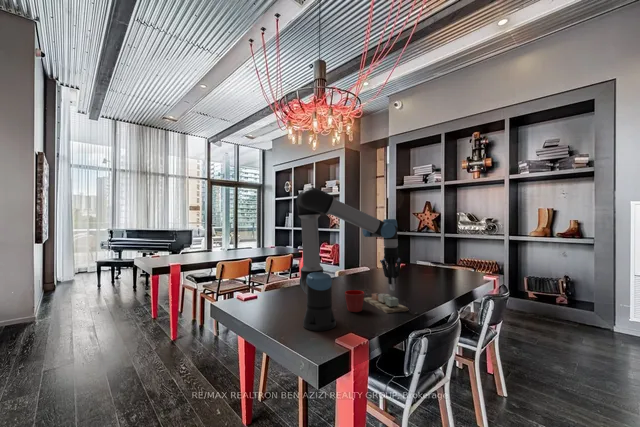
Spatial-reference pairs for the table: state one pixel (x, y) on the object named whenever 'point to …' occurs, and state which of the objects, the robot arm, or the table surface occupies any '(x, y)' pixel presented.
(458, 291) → the table surface
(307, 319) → the robot arm
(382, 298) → the tile
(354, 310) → the flower pot
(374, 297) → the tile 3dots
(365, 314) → the table surface
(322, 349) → the table surface
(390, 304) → the tile
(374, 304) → the button board
